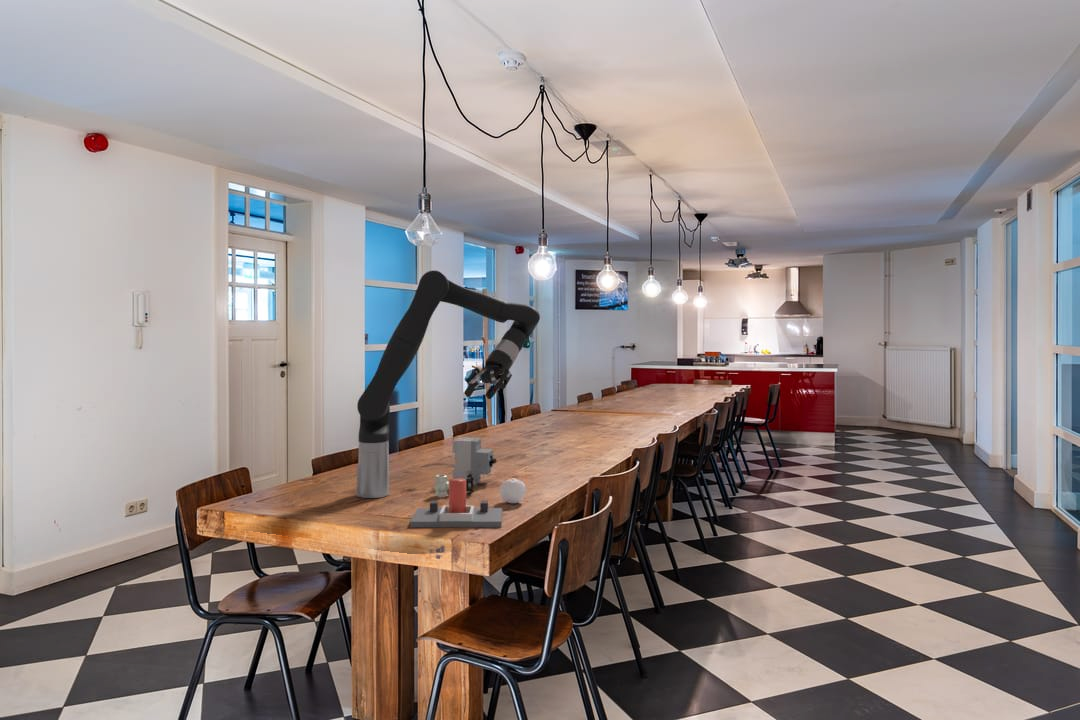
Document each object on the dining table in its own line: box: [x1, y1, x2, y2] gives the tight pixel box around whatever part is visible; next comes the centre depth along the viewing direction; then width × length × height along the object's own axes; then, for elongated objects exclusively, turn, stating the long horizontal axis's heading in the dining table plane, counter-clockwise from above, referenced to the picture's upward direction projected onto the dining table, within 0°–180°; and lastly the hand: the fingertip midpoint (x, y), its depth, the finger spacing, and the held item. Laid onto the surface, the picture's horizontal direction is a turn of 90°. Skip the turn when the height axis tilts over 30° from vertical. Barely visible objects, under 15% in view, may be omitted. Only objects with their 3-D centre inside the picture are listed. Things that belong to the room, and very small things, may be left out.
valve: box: [434, 474, 475, 498], centre depth 211 cm, size 7×7×12 cm
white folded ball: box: [499, 477, 527, 504], centre depth 202 cm, size 8×8×8 cm
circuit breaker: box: [451, 437, 498, 486], centre depth 230 cm, size 8×14×15 cm, turn 81°
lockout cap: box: [448, 478, 467, 513], centre depth 179 cm, size 5×5×10 cm
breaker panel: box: [409, 500, 503, 528], centre depth 182 cm, size 24×14×4 cm, turn 92°
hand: (477, 396), depth 197 cm, fingers open, 8 cm apart
